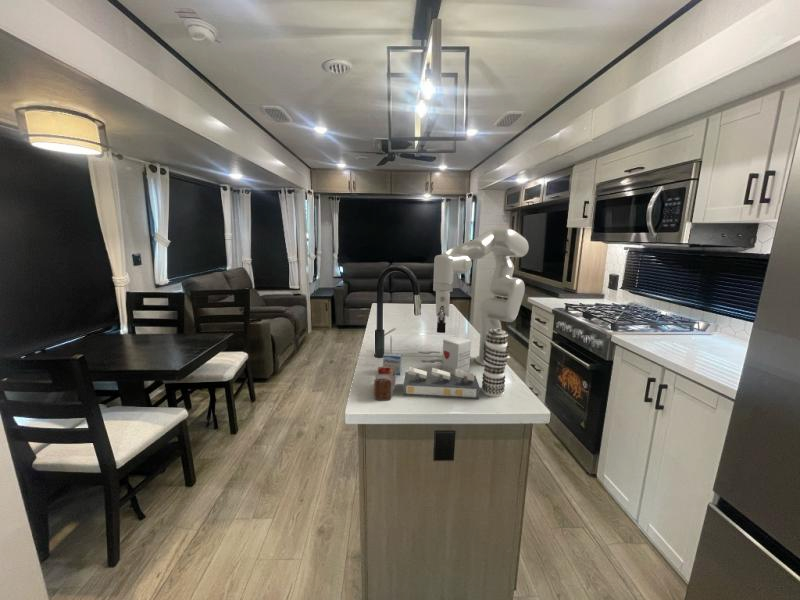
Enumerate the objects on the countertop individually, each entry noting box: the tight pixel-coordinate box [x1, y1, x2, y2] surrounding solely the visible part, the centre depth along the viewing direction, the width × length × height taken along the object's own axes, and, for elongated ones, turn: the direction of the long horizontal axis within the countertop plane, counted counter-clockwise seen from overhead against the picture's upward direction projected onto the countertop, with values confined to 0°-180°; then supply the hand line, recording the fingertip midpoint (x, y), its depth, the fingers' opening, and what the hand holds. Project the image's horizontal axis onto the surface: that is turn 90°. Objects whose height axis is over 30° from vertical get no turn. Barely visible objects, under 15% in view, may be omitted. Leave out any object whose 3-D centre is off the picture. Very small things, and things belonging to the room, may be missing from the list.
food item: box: [373, 365, 397, 401], centre depth 123 cm, size 14×8×10 cm, turn 179°
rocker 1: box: [407, 366, 428, 379], centre depth 124 cm, size 7×4×2 cm, turn 85°
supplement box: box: [441, 335, 472, 374], centre depth 142 cm, size 9×9×15 cm
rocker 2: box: [431, 367, 450, 380], centre depth 123 cm, size 7×4×2 cm, turn 85°
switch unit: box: [403, 371, 480, 400], centre depth 124 cm, size 28×10×8 cm, turn 85°
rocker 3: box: [455, 369, 475, 381], centre depth 123 cm, size 7×4×2 cm, turn 85°
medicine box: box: [382, 352, 403, 376], centre depth 140 cm, size 8×4×9 cm, turn 82°
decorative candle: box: [481, 328, 510, 398], centre depth 123 cm, size 9×9×25 cm
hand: (441, 329), depth 128 cm, fingers open, 9 cm apart
